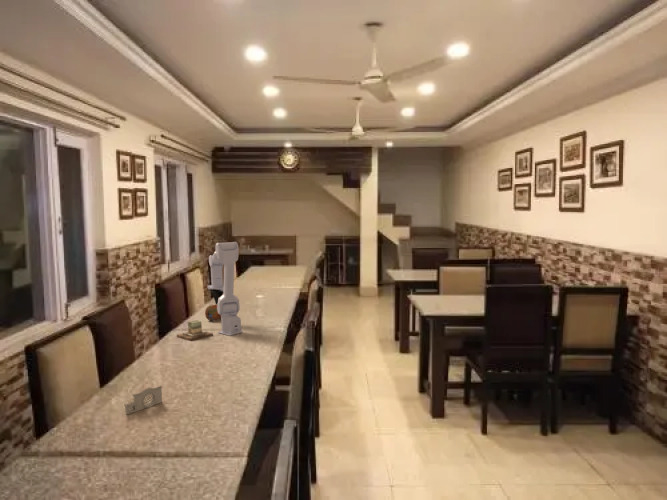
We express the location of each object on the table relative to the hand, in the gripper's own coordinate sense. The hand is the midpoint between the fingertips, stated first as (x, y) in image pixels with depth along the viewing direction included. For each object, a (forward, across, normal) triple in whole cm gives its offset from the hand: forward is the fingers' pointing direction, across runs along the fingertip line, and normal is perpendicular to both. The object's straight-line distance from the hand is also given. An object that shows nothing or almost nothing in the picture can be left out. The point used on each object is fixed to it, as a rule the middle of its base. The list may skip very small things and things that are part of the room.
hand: (218, 304), depth 258 cm
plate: (+10, +12, -22) cm, 27 cm away
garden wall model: (+11, +74, -79) cm, 109 cm away
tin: (+11, -10, +6) cm, 16 cm away
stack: (+9, +12, -22) cm, 27 cm away
